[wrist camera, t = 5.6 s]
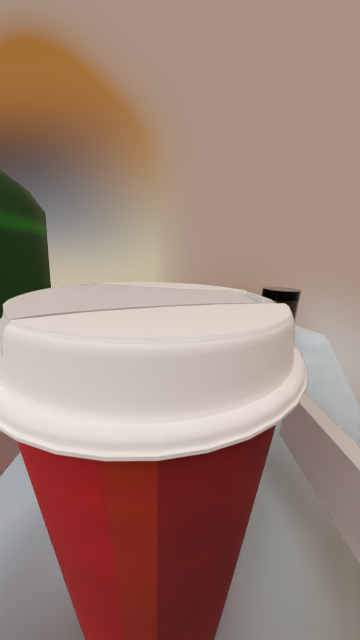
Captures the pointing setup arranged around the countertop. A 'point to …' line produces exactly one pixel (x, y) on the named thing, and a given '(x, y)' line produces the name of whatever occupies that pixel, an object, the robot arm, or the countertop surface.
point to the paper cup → (146, 440)
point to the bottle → (21, 242)
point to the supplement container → (283, 297)
